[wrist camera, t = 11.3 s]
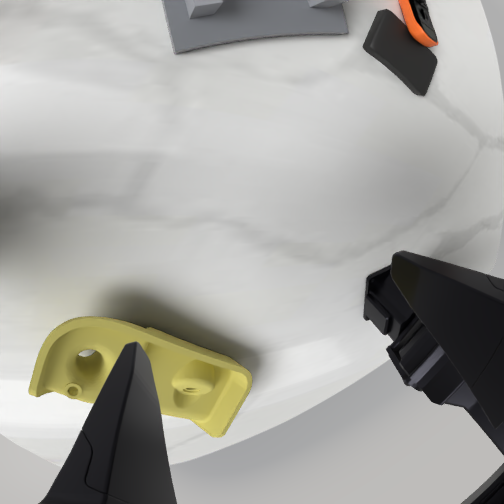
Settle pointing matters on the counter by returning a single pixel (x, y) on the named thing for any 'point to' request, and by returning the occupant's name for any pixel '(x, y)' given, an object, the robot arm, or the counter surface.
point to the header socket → (248, 20)
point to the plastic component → (162, 362)
